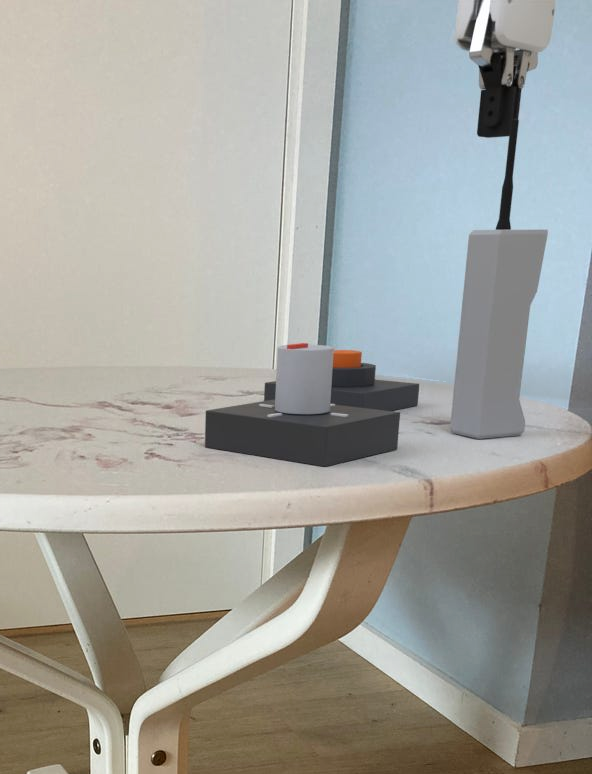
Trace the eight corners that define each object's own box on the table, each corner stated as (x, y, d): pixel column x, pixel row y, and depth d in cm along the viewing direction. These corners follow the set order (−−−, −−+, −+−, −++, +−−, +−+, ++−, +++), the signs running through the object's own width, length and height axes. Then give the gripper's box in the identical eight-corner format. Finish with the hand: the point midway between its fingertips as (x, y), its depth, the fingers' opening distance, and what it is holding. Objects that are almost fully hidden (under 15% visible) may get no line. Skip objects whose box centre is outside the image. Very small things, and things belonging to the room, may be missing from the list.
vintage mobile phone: (524, 435, 95) (562, 117, 87) (477, 439, 94) (512, 114, 85) (494, 429, 99) (528, 121, 90) (449, 433, 97) (479, 119, 88)
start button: (367, 369, 112) (368, 351, 112) (347, 372, 110) (348, 354, 109) (337, 366, 115) (339, 349, 114) (317, 369, 112) (318, 351, 112)
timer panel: (397, 449, 89) (400, 410, 88) (325, 466, 83) (327, 424, 82) (279, 432, 98) (280, 396, 96) (204, 447, 91) (205, 408, 90)
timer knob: (295, 405, 92) (298, 339, 90) (340, 410, 89) (344, 342, 87) (263, 410, 89) (266, 343, 87) (309, 416, 86) (313, 346, 84)
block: (417, 405, 113) (421, 365, 111) (362, 416, 106) (365, 374, 105) (320, 394, 121) (323, 357, 119) (263, 404, 114) (265, 364, 113)
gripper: (519, -69, 104) (497, 143, 111) (437, -100, 95) (418, 134, 101) (598, -85, 99) (570, 138, 106) (520, -120, 90) (494, 128, 96)
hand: (496, 135), depth 103 cm, fingers closed
